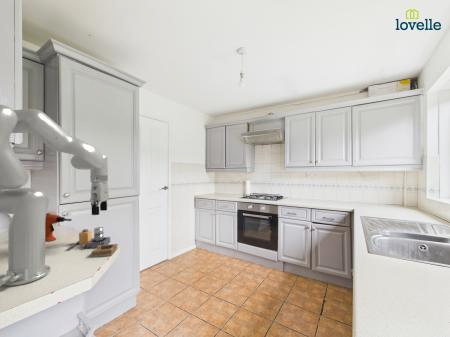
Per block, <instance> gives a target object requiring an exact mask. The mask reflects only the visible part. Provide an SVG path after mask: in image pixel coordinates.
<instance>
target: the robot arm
mask: <svg viewBox="0 0 450 337" xmlns="http://www.w3.org/2000/svg"><path fill="white" fill-rule="evenodd" d="M28 133H29V134H31V135H32V136H34V137H35V138H36V139H37V140H39V141H41V142H42V143H43V144H44V145H46V146H48V147H49V148H50V149H52V150H54V151H56V152H60V153H63V154H69V155H71V156H72V157H71V159H70V164H71V166H72V167H73V168H74V169H77V170H85V171H86V170H90V171H89V172H90V173H89V174H90V175H89V177H90V179H89V180H90V183H91V185H90V186H91V187H90V207H91V216H99V215H100V211H101V212H102V211H103V212H104V211H105V212H106V211H107V210H108V200H109V185H108V182H109V173H108V157H107V155H106V154H105V155H104V154H102V153H101V152H100V151H99V150H98V149H97V148H95V146H93V145H91V144H89V143H88V142H86V141H83V140H82V139H79V138H77V137H76V136H73V135H71V134H70V133H68V132H67V131H66V130H64V128H62V127H61V126H60V125H59V124H57V122H55V121H54V120H53V119H52V118H51V117H50V116H48V115H47V114H46V113H45V112H43V111H42V110H40V109H36V108H26V109H24V108H23V109H13V108H11V107H10V106H7V105H4V104H0V214H4V215H5V214H6V215H12V217H11V220H10V223H9V225H8V229H7V230H8V234H7V235H8V238H7V239H8V247H7V248H8V250H7V251H8V252H7V253H8V254H7V256H8V259H7V262H8V267H7V268H8V269H7V270H6V274H5V275H4V276H3V277H2V278H0V287H2V286H8V287H10V286H20V285H25V284H29V283H31V282H34V281H38V280H40V279H42V278H43V277H45V276H46V277H47V275H48V274H50V272H51V266H50V265H46V242H45V219H46V214H47V212H48V208H49V205H50V204H49V202H50V198H49V196H48V194H47V193H46V192H45V191H44V190H41V189H39V188H35V187H24V186H25V185H26V184H27V183H28V182H29V173H28V171H27V170H26V167H25V166H24V165H23V163H22V161H21V160H20V159H19V157H18V156H17V154H16V153H15V151H14V149H13V147H12V145H11V135H12V134H28Z"/></svg>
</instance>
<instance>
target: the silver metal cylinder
mask: <svg viewBox="0 0 450 337" xmlns="http://www.w3.org/2000/svg"><path fill="white" fill-rule="evenodd" d="M103 237H104V227H103V226H97V227H95V228H94V229H93V238H94V242H102V241H103Z"/></svg>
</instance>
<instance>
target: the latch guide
mask: <svg viewBox="0 0 450 337" xmlns="http://www.w3.org/2000/svg"><path fill="white" fill-rule="evenodd" d="M93 238H94V237H91V240H92V239H93ZM78 245H79V240H78V241H76V242H75V243H73V244H72V245H70V246H69V247H67V251H68V252H69V251H71V250H73V249H74V248H76V247H77V246H78ZM81 248H82V249H81V250H82V251H83V250H85V249H86V245H82V247H81Z"/></svg>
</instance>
